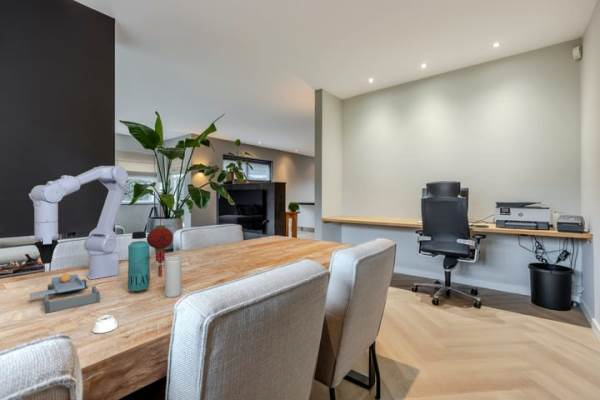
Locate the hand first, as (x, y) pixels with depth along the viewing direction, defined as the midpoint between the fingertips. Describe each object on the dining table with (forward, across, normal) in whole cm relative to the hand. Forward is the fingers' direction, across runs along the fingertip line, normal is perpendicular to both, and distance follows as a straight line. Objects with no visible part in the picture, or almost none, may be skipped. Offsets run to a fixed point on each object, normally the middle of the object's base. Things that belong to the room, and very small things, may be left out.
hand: (46, 263), depth 92 cm
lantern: (+10, +6, +33) cm, 35 cm away
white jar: (+10, +43, +9) cm, 45 cm away
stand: (+9, +3, +5) cm, 11 cm away
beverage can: (+10, +31, +29) cm, 43 cm away
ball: (+7, -4, +5) cm, 9 cm away
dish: (+9, +18, +5) cm, 21 cm away
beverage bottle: (+10, +20, +22) cm, 31 cm away
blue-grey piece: (+9, +3, +2) cm, 9 cm away
